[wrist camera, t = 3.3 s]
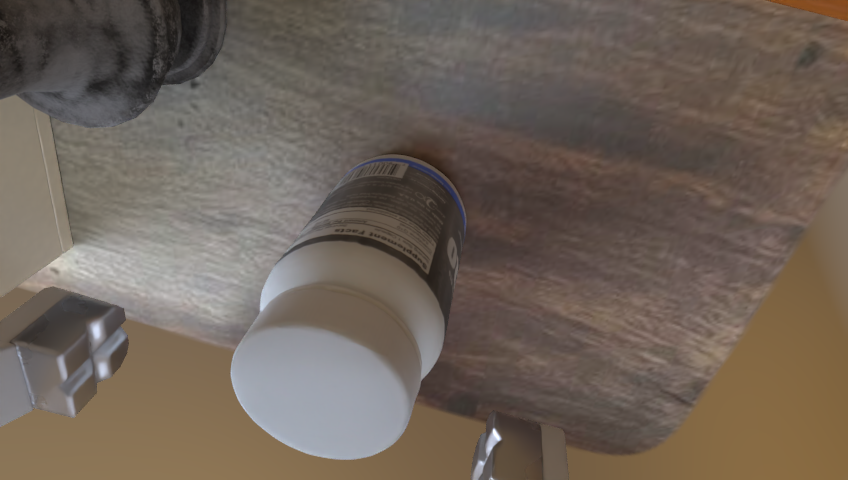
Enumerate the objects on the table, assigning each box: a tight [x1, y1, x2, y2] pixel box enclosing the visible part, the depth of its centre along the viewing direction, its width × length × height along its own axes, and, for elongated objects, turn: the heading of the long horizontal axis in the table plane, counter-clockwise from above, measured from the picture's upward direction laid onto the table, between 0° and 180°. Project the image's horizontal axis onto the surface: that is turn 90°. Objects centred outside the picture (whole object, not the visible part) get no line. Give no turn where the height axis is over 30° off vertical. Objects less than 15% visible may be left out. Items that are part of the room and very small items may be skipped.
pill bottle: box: [231, 154, 466, 460], centre depth 14 cm, size 5×5×8 cm
